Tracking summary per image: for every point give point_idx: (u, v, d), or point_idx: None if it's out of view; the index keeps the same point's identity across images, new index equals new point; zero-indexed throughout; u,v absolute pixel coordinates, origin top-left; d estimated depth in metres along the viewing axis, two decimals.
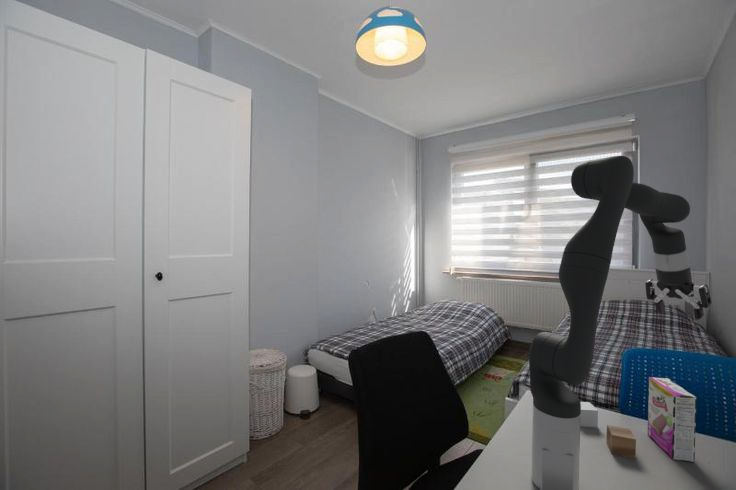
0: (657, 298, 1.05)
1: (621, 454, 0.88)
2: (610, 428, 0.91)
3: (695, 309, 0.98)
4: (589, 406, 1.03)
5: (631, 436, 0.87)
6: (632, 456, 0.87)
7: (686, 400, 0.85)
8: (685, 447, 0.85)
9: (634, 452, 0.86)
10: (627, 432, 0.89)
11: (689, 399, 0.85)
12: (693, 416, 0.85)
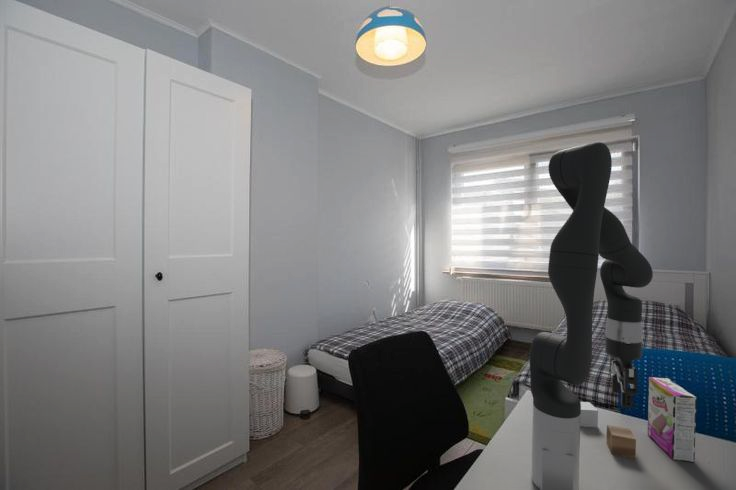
0: (612, 372, 0.93)
1: (621, 454, 0.88)
2: (610, 428, 0.91)
3: (621, 393, 0.86)
4: (589, 406, 1.03)
5: (631, 436, 0.87)
6: (632, 456, 0.87)
7: (686, 400, 0.85)
8: (685, 447, 0.85)
9: (634, 452, 0.86)
10: (627, 432, 0.89)
11: (689, 399, 0.85)
12: (693, 416, 0.85)
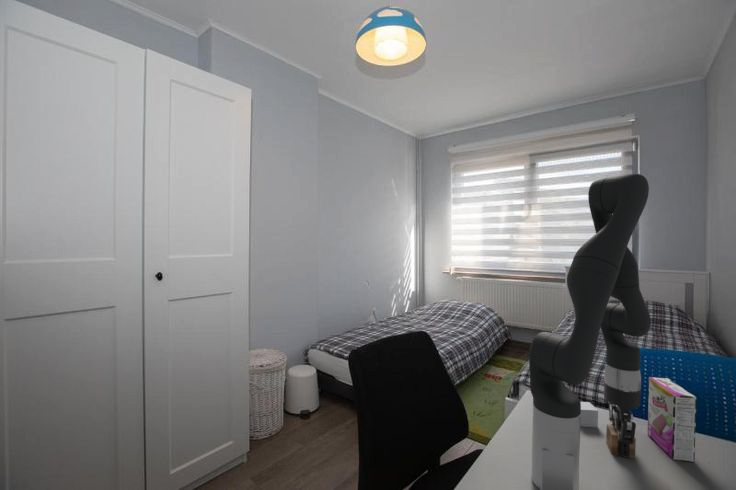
0: (612, 421, 0.93)
1: None
2: (610, 428, 0.91)
3: (618, 440, 0.87)
4: (589, 406, 1.03)
5: None
6: (632, 456, 0.87)
7: (686, 400, 0.85)
8: (685, 447, 0.85)
9: (634, 452, 0.86)
10: None
11: (689, 399, 0.84)
12: (693, 416, 0.85)
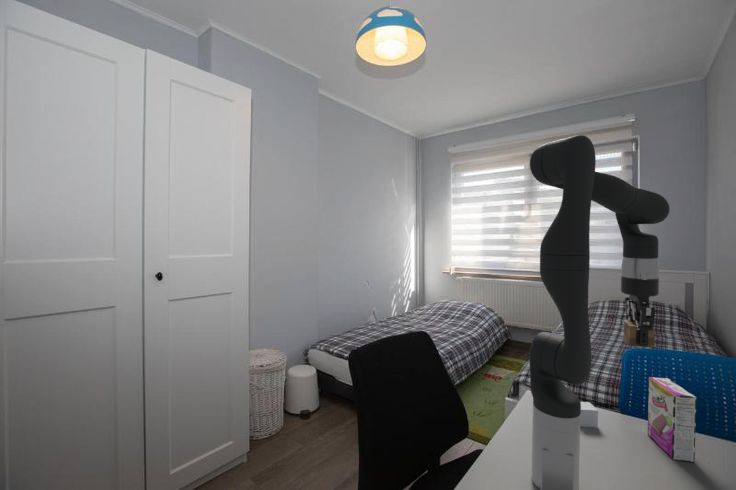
0: (629, 317, 0.92)
1: None
2: (627, 322, 0.90)
3: None
4: (589, 406, 1.03)
5: None
6: (651, 345, 0.86)
7: (686, 400, 0.85)
8: (685, 447, 0.85)
9: (653, 341, 0.86)
10: (645, 324, 0.89)
11: (689, 399, 0.85)
12: (693, 416, 0.85)
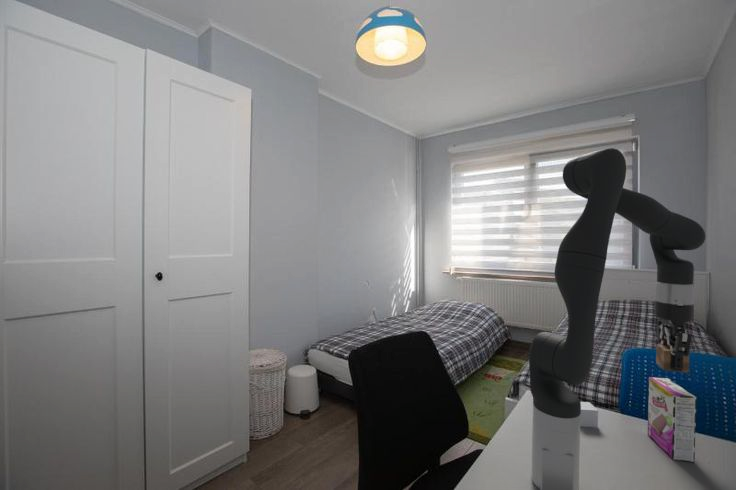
0: (661, 341, 0.93)
1: None
2: (661, 346, 0.91)
3: (671, 356, 0.88)
4: (589, 406, 1.03)
5: None
6: (685, 370, 0.87)
7: (686, 400, 0.85)
8: (685, 447, 0.85)
9: (687, 366, 0.87)
10: (679, 349, 0.89)
11: (689, 399, 0.84)
12: (693, 416, 0.85)
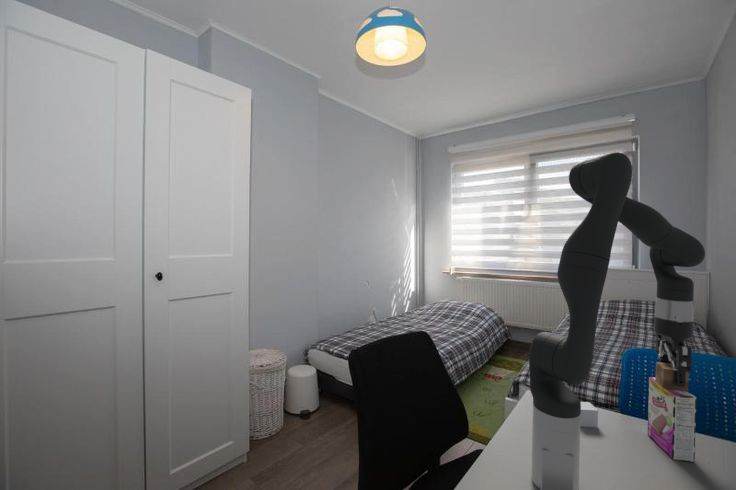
0: (659, 352, 0.94)
1: (673, 387, 0.88)
2: (660, 364, 0.91)
3: (673, 371, 0.86)
4: (589, 406, 1.03)
5: None
6: (685, 389, 0.87)
7: (686, 400, 0.85)
8: (685, 447, 0.85)
9: (687, 385, 0.87)
10: None
11: (689, 399, 0.85)
12: (693, 416, 0.85)
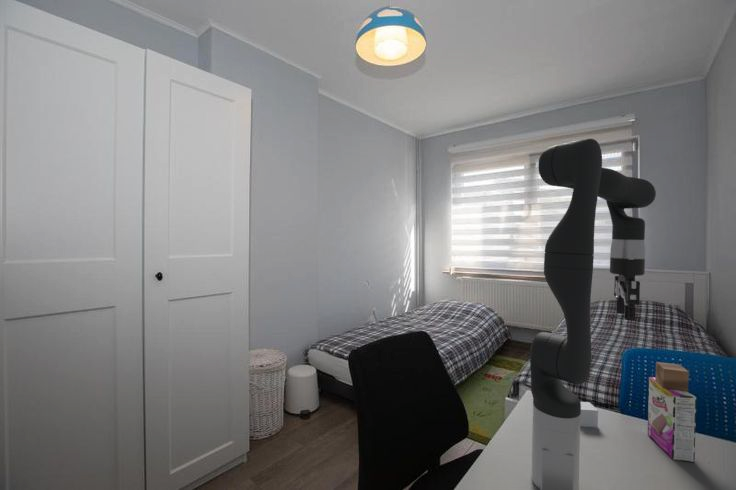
0: (616, 294, 0.99)
1: (673, 387, 0.88)
2: (660, 364, 0.91)
3: (624, 306, 0.91)
4: (589, 406, 1.03)
5: (683, 369, 0.88)
6: (685, 389, 0.87)
7: (686, 400, 0.85)
8: (685, 447, 0.85)
9: (687, 385, 0.87)
10: (678, 367, 0.90)
11: (689, 399, 0.85)
12: (693, 416, 0.85)
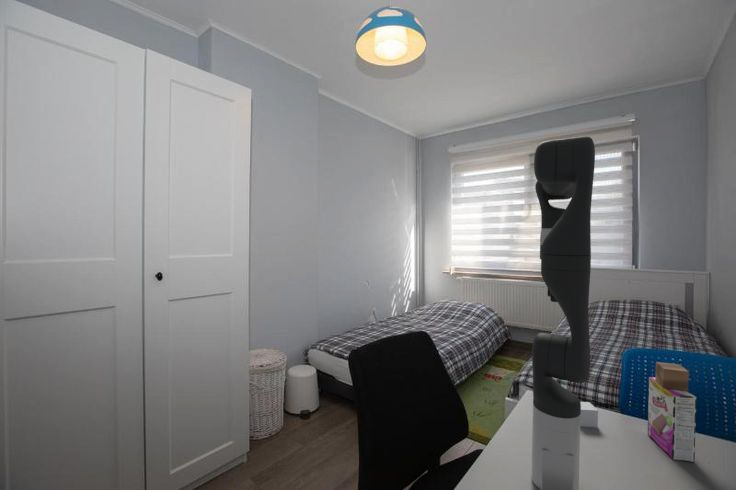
0: None
1: (673, 387, 0.88)
2: (660, 364, 0.91)
3: None
4: (589, 406, 1.03)
5: (683, 369, 0.88)
6: (685, 389, 0.87)
7: (686, 400, 0.85)
8: (685, 447, 0.85)
9: (687, 384, 0.87)
10: (678, 367, 0.90)
11: (689, 399, 0.85)
12: (693, 416, 0.85)
